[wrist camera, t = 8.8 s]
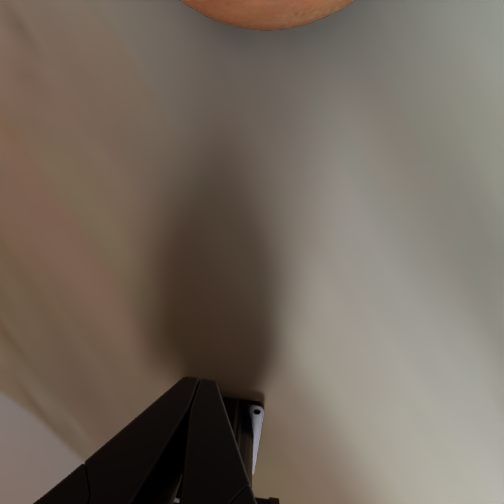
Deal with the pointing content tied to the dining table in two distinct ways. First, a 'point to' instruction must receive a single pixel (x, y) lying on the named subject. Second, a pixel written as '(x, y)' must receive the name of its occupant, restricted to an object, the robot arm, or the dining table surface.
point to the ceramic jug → (267, 12)
